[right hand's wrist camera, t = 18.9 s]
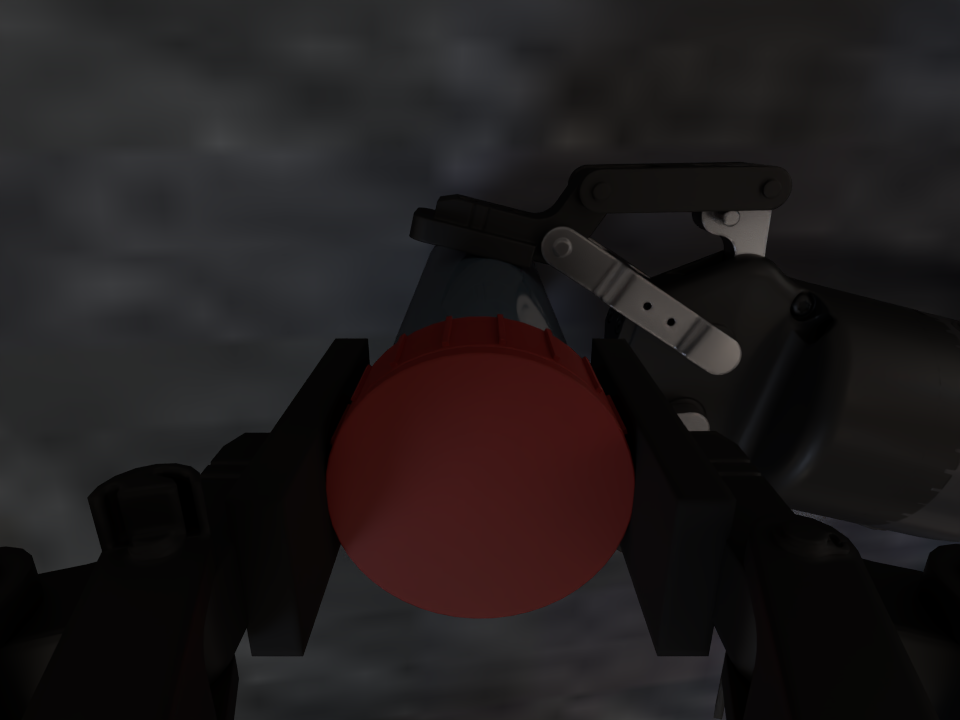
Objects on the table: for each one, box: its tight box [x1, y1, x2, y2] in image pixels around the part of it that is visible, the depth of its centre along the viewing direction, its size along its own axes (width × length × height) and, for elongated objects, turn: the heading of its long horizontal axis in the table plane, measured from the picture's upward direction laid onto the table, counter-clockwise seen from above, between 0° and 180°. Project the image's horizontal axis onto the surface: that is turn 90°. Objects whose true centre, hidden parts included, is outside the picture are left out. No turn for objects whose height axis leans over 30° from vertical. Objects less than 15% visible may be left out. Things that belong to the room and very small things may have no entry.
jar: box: [393, 245, 568, 346], centre depth 18 cm, size 5×5×15 cm
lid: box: [326, 314, 635, 618], centre depth 11 cm, size 5×5×2 cm
